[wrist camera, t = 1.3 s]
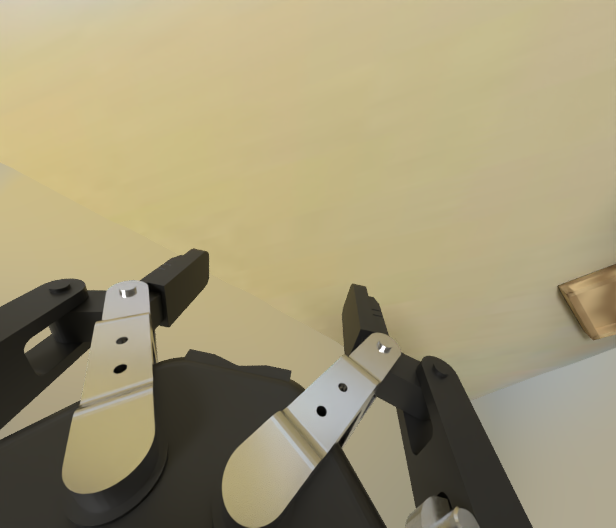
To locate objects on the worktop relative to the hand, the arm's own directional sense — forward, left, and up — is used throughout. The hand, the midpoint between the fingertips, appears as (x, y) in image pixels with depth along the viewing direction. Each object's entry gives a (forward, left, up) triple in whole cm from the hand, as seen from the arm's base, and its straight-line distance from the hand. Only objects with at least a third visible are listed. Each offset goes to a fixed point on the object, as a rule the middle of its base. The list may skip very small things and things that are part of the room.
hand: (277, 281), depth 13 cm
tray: (-22, +49, -30) cm, 62 cm away
